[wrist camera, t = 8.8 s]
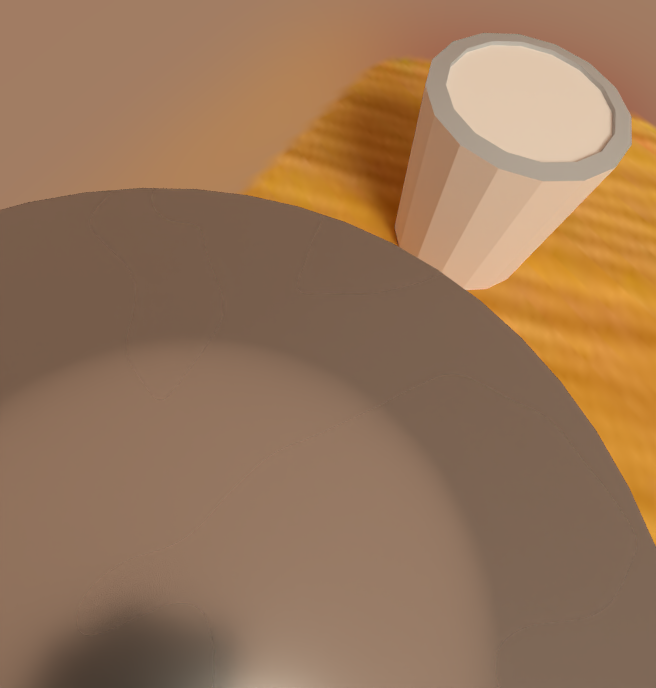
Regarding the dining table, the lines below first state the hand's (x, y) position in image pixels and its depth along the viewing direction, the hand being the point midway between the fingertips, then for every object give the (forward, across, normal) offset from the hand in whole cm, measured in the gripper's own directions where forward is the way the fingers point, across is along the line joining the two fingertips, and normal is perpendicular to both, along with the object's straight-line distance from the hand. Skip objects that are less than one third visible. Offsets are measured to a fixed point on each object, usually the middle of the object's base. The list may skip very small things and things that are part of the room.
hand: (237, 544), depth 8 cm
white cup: (+18, -5, -4) cm, 19 cm away
